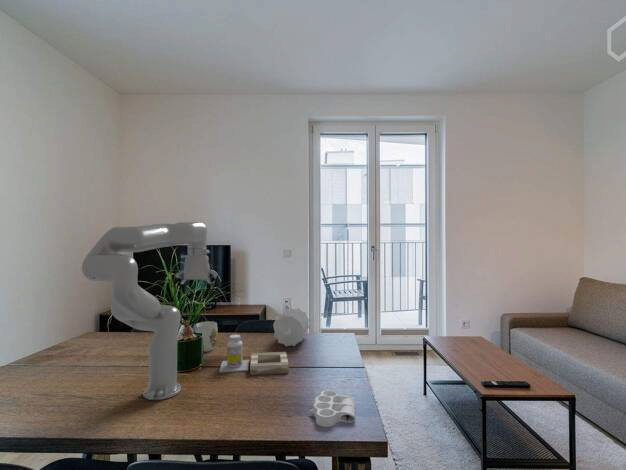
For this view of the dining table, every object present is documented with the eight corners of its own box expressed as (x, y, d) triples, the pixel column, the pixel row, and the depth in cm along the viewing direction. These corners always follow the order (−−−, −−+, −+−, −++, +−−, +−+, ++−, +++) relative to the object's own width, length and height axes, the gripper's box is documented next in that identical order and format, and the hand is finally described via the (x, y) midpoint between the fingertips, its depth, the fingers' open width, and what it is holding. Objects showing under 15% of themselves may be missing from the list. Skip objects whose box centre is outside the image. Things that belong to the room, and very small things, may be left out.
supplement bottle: (230, 362, 149) (231, 333, 149) (244, 362, 148) (244, 334, 148) (224, 367, 142) (224, 337, 143) (239, 368, 141) (239, 338, 142)
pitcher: (225, 344, 176) (226, 318, 176) (207, 355, 159) (207, 327, 159) (207, 343, 179) (207, 317, 179) (187, 353, 161) (187, 325, 162)
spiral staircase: (302, 342, 193) (295, 355, 169) (276, 328, 196) (265, 338, 171) (316, 314, 194) (310, 323, 169) (289, 301, 196) (280, 307, 171)
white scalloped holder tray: (354, 430, 97) (306, 426, 99) (354, 401, 115) (313, 398, 117) (355, 419, 97) (306, 415, 99) (354, 391, 115) (313, 389, 117)
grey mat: (248, 371, 140) (248, 369, 140) (219, 372, 138) (219, 371, 139) (249, 361, 152) (249, 359, 152) (222, 362, 150) (222, 360, 150)
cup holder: (288, 372, 139) (288, 364, 139) (250, 374, 136) (250, 366, 137) (286, 359, 155) (286, 351, 155) (251, 360, 152) (251, 353, 152)
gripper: (219, 252, 145) (218, 291, 145) (177, 252, 142) (177, 292, 142) (216, 253, 138) (216, 294, 137) (173, 253, 135) (172, 294, 135)
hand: (196, 293), depth 140 cm, fingers open, 9 cm apart
